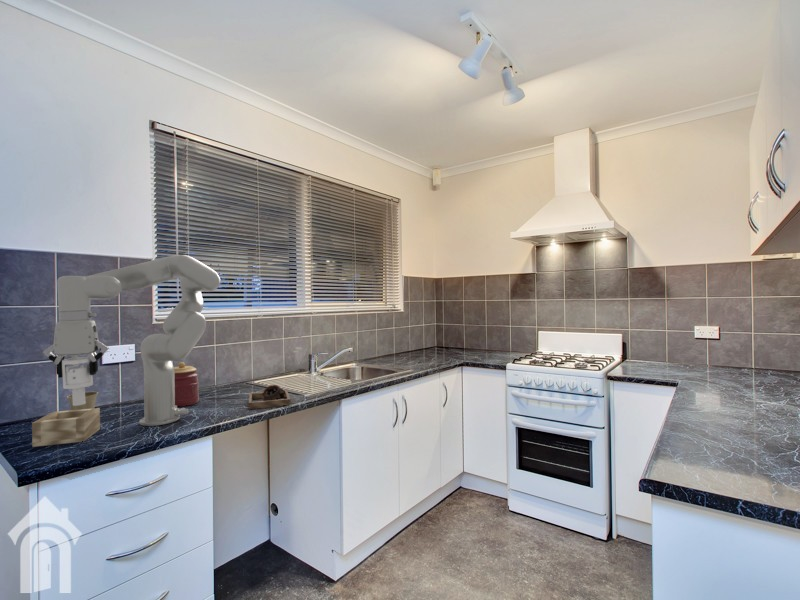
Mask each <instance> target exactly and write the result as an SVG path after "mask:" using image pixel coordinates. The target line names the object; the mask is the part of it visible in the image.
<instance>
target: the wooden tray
mask: <svg viewBox="0 0 800 600" xmlns="http://www.w3.org/2000/svg"><path fill="white" fill-rule="evenodd" d="M283 390H284V389H283ZM262 393H263V391H262V392H261V391H260V392H251V393H249V395H248V398H249V399H248V410H253V409H254V410H255V409H264V408H265V409H266V408H267V409H268V408H275V407H277V408H278V407H284V406H283V405H287V406H291V397H290V394H289V392H288V390H287V389H285V390H284V395H285V396H286V399H278V400H276V399H275V400H269V401H263V400H262V401H260V400H261V399H263V394H262ZM265 395H268V394H267V392H266V393H265ZM259 399H260V400H259ZM253 400H259V401H253Z"/></svg>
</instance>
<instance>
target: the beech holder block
mask: <svg viewBox="0 0 800 600" xmlns="http://www.w3.org/2000/svg"><path fill="white" fill-rule="evenodd" d="M100 410H101V408H100V407H96V408H92V409H81V410H62V411H61V410H60V411H51V412H50V413H48V414H47V415H44V416H42V417H41V418H39V419H37V420H35V421H34V422H33V421H32V423H31V432H32V433H31V436H32V437H31V438H32V440H31V443H32V444H31V446H32V447H33V448H36V447H44V446H52V445H63V444H71V443H81V442H82V441H83V442H85V441H87V440H88V439H89V438H91V437H92V436H93V435H94V434H96V433H97V432H98V431H99V430H101V413H100ZM83 442H82V443H83Z"/></svg>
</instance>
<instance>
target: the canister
mask: <svg viewBox="0 0 800 600" xmlns="http://www.w3.org/2000/svg"><path fill="white" fill-rule="evenodd" d="M197 370H198V369H197V368H196V367H194V366H193V365H186V363H185V362H184V361H181V362H178V365H177V366H174V372H175V405H177V408H179V407H178V406H180V407H186V405H187V406H192V405H195V404H198V402H199V399H200V393H199V390H200V386H199V384H200V381H199V379H198V377H199V375H200V374H199V373H198V372H197Z"/></svg>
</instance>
